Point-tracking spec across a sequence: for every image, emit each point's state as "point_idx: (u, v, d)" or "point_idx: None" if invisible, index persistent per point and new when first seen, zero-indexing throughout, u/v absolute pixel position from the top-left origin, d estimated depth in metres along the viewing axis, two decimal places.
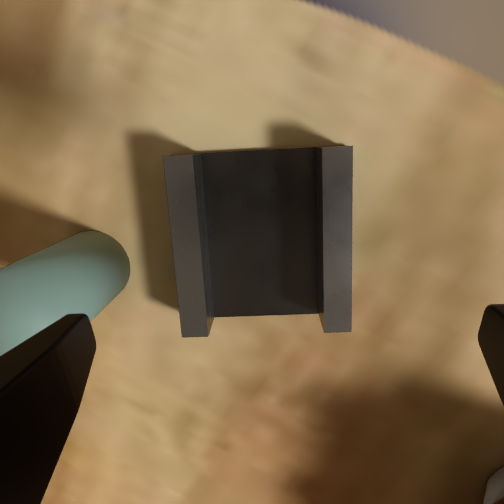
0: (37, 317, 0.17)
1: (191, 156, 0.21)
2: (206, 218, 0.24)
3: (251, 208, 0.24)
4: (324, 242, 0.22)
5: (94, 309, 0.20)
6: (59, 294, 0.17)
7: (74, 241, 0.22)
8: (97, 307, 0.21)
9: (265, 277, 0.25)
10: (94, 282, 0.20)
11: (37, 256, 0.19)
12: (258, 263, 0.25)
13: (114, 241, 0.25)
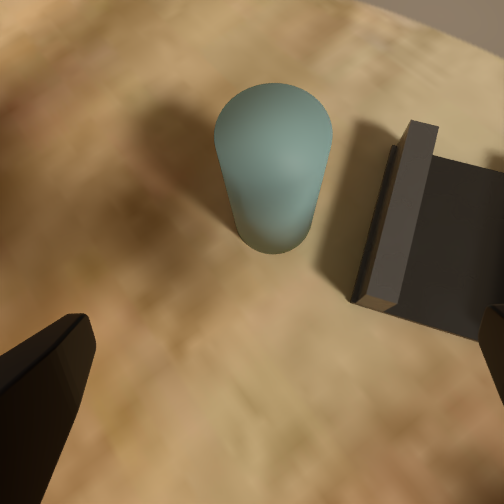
0: (312, 132, 0.16)
1: (437, 127, 0.22)
2: None
3: (457, 213, 0.23)
4: None
5: (312, 203, 0.19)
6: None
7: None
8: (311, 207, 0.19)
9: (454, 286, 0.22)
10: None
11: None
12: (449, 269, 0.23)
13: None
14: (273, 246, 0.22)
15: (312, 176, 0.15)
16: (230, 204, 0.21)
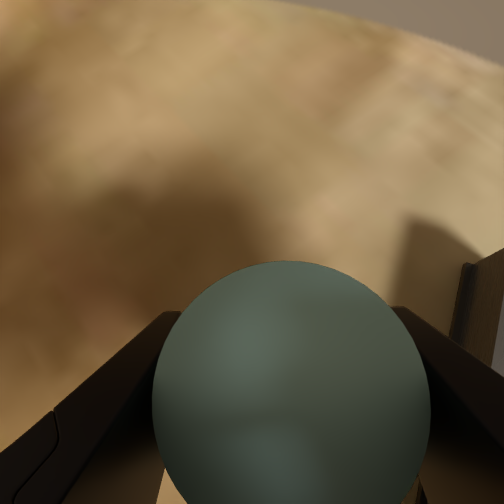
0: (382, 396, 0.07)
1: None
2: None
3: None
4: None
5: None
6: None
7: None
8: None
9: None
10: None
11: None
12: None
13: None
14: None
15: None
16: None
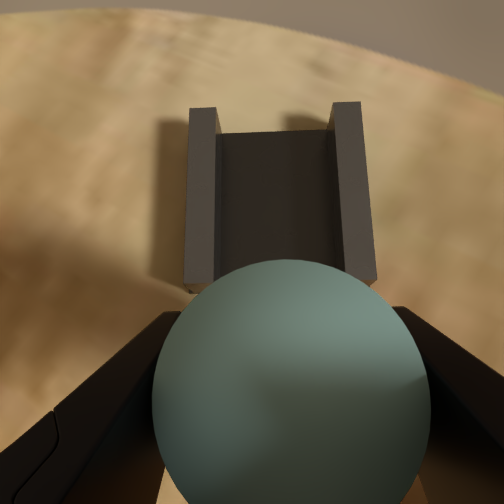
0: (382, 395, 0.07)
1: (215, 108, 0.23)
2: (221, 187, 0.24)
3: (266, 180, 0.25)
4: (340, 183, 0.21)
5: None
6: None
7: None
8: None
9: (278, 248, 0.23)
10: None
11: None
12: (271, 233, 0.24)
13: None
14: None
15: None
16: None
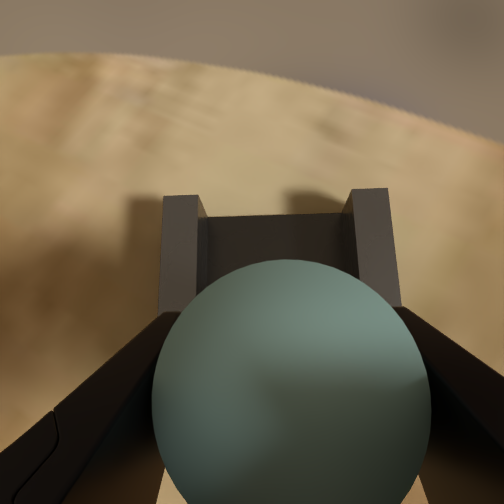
0: (383, 395, 0.07)
1: (197, 196, 0.18)
2: None
3: None
4: None
5: None
6: None
7: None
8: None
9: None
10: None
11: None
12: None
13: None
14: None
15: None
16: None
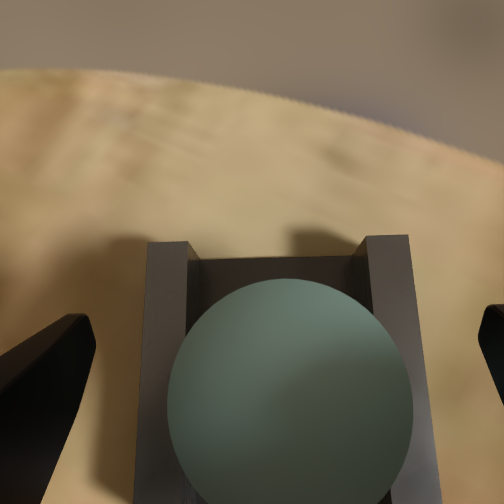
0: (371, 400, 0.07)
1: (186, 243, 0.15)
2: None
3: None
4: None
5: None
6: None
7: None
8: None
9: None
10: None
11: None
12: None
13: None
14: None
15: None
16: None
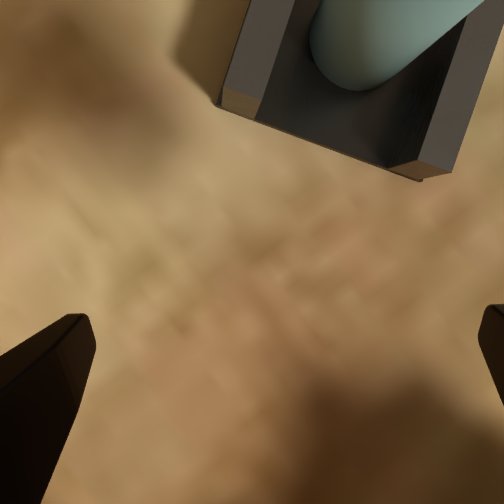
0: None
1: None
2: None
3: None
4: (462, 33, 0.16)
5: (451, 26, 0.13)
6: None
7: None
8: (443, 33, 0.14)
9: (341, 91, 0.18)
10: None
11: None
12: None
13: None
14: (352, 74, 0.17)
15: None
16: None
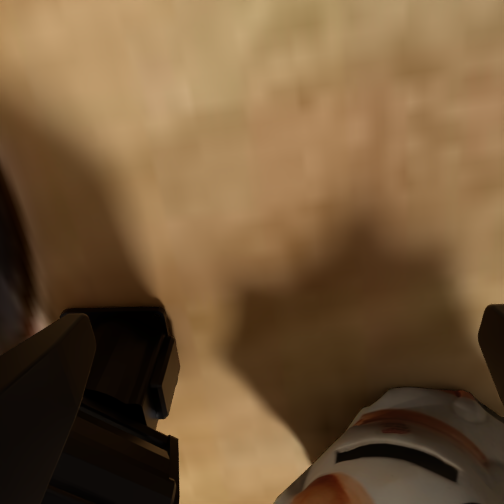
0: None
1: None
2: None
3: None
4: None
5: None
6: None
7: None
8: None
9: None
10: None
11: None
12: None
13: None
14: None
15: None
16: None
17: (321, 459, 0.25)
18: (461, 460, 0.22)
